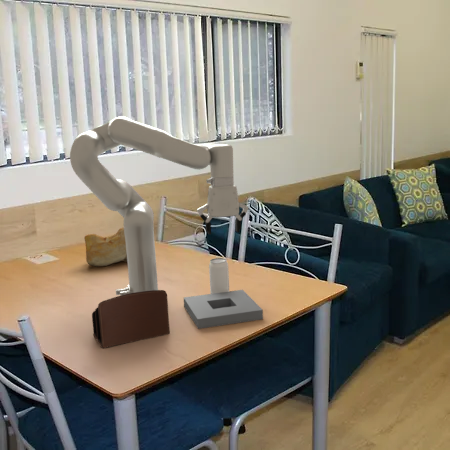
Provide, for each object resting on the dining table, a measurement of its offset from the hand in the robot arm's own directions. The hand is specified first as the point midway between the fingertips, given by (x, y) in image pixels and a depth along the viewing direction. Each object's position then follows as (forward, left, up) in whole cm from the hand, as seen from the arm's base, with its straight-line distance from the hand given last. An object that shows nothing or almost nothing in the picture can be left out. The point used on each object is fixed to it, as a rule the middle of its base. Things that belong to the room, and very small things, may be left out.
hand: (223, 232), depth 195 cm
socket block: (-6, -18, -21) cm, 28 cm away
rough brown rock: (-33, +57, -22) cm, 70 cm away
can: (-2, -1, -21) cm, 22 cm away
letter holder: (-35, -25, -22) cm, 48 cm away
